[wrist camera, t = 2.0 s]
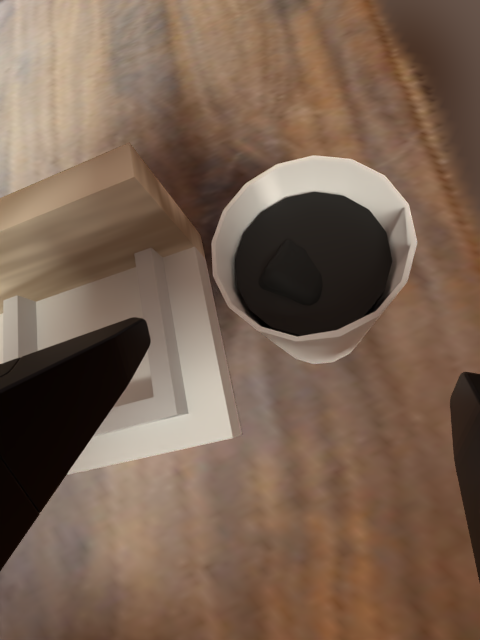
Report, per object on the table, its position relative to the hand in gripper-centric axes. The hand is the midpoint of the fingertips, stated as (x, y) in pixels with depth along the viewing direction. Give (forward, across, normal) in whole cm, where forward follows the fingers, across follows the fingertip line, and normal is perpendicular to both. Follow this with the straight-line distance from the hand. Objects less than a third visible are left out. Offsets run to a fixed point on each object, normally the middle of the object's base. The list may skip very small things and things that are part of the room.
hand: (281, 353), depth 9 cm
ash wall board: (+10, +19, +5) cm, 22 cm away
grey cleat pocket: (+5, +16, +10) cm, 19 cm away
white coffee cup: (+10, 0, +5) cm, 12 cm away
